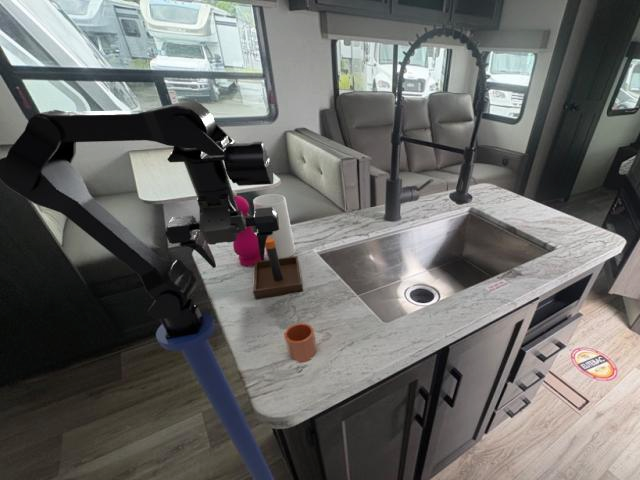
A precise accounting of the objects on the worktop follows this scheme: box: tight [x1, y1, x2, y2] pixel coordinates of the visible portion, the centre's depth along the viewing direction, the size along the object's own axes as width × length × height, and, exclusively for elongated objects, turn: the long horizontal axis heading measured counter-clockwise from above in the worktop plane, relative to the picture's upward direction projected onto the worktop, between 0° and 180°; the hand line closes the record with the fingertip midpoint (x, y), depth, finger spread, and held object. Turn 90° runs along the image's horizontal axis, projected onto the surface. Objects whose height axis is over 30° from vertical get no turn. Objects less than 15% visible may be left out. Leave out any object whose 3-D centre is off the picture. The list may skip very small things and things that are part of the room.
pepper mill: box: [232, 189, 262, 267], centre depth 85 cm, size 7×7×20 cm
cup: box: [252, 193, 296, 259], centre depth 91 cm, size 8×8×16 cm
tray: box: [252, 255, 304, 300], centre depth 83 cm, size 11×14×2 cm
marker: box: [265, 238, 283, 281], centre depth 80 cm, size 2×2×11 cm
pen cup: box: [283, 322, 318, 364], centre depth 62 cm, size 5×5×6 cm
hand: (239, 263), depth 66 cm, fingers open, 9 cm apart
